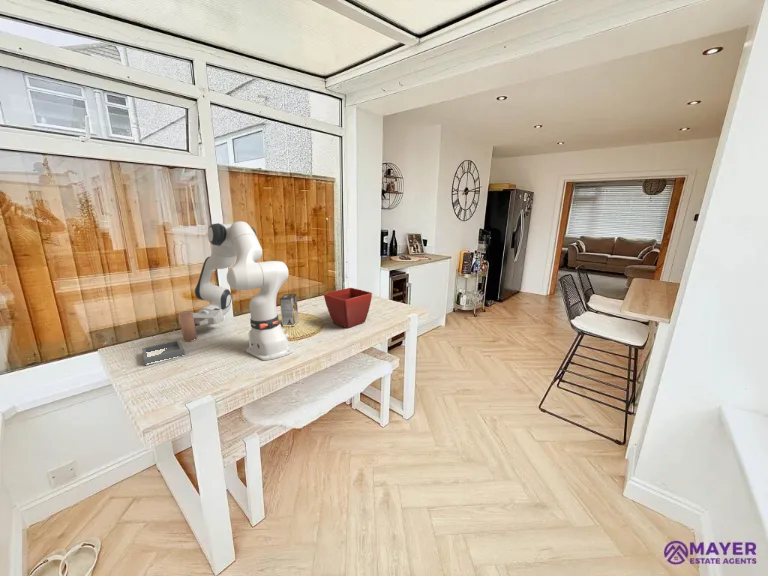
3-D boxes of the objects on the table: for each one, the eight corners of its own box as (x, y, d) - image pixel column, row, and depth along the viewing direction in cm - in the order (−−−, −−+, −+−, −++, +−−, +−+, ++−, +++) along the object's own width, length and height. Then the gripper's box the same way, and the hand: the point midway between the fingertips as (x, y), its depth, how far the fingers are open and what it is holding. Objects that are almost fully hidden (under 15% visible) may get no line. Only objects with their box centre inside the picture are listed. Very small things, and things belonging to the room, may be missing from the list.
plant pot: (352, 314, 187) (350, 287, 183) (373, 322, 174) (372, 292, 170) (324, 323, 174) (322, 293, 170) (346, 332, 161) (344, 300, 157)
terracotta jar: (197, 339, 156) (193, 312, 152) (184, 342, 152) (179, 315, 149) (195, 336, 160) (191, 309, 157) (183, 339, 157) (178, 312, 153)
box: (185, 355, 139) (184, 349, 138) (145, 366, 130) (143, 359, 129) (180, 345, 150) (179, 339, 149) (143, 354, 141) (141, 348, 140)
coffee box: (287, 321, 178) (285, 293, 174) (299, 321, 178) (296, 293, 174) (282, 327, 169) (279, 298, 166) (294, 327, 169) (291, 298, 165)
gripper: (188, 309, 169) (169, 317, 156) (224, 309, 167) (208, 318, 154) (190, 320, 171) (171, 329, 157) (226, 320, 169) (210, 330, 155)
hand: (189, 323), depth 156 cm, fingers open, 8 cm apart
